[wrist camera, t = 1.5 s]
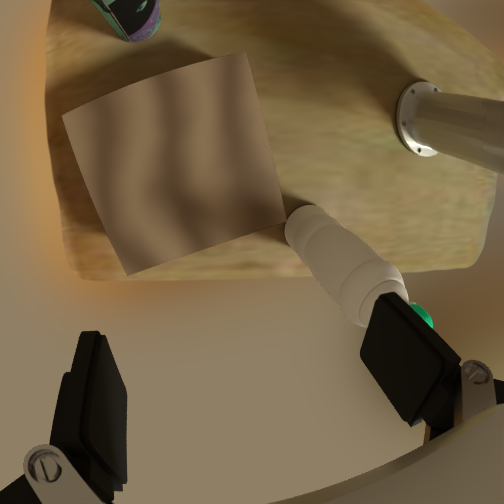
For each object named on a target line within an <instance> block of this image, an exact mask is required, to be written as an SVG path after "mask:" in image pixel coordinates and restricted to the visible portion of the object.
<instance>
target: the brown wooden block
mask: <svg viewBox="0 0 504 504" xmlns="http://www.w3.org/2000/svg"><path fill="white" fill-rule="evenodd" d="M62 118H63V122H64V125H65V128H66V131H67V134H68V137H69V140H70V143H71V146H72V149H73V152H74V154H75V157H76V160H77V163H78V165H79V168H80V171H81V173H82V176H83V179H84V181H85V184H86V186H87V189H88V191H89V194H90V196H91V198H92V201H93V203H94V206H95V208H96V210H97V213H98V215H99V217H100V220H101V222H102V224H103V226H104V229H105V231H106V233H107V235H108V237H109V239H110V242H111V244H112V246H113V248H114V250H115V252H116V254H117V256H118V258H119V260H120V262H121V264H122V266H123V268H124V270H125V272H126V274H127V276H128V275H131V274H134V273H137V272H140V271H142V270H145V269H148V268H151V267H154V266H157V265H160V264H162V263H165V262H168V261H171V260H174V259H177V258H180V257H183V256H185V255H188V254H191V253H194V252H197V251H200V250H203V249H206V248H209V247H212V246H215V245H218V244H221V243H223V242H226V241H229V240H232V239H235V238H238V237H241V236H244V235H247V234H250V233H253V232H256V231H259V230H262V229H265V228H268V227H271V226H274V225H277V224H280V223H283V222H286V221H287V219H286V214H285V210H284V205H283V200H282V196H281V191H280V187H279V182H278V178H277V174H276V169H275V165H274V161H273V156H272V152H271V148H270V144H269V140H268V135H267V131H266V127H265V123H264V119H263V115H262V111H261V107H260V103H259V99H258V95H257V92H256V88H255V84H254V80H253V76H252V73H251V69H250V65H249V61H248V58H247V54H246V52H241V53H236V54H232V55H227V56H223V57H218V58H214V59H210V60H206V61H203V62H199V63H195V64H191V65H188V66H184V67H181V68H178V69H174V70H171V71H168V72H165V73H162V74H159V75H156V76H153V77H150V78H147V79H144V80H142V81H139V82H136V83H134V84H131V85H128V86H126V87H123V88H121V89H118V90H116V91H113V92H111V93H109V94H106V95H104V96H102V97H99V98H97V99H95V100H93V101H90V102H88V103H86V104H84V105H82V106H80V107H78V108H76V109H74V110H72V111H70V112H68V113H66V114H64V115H62Z"/></svg>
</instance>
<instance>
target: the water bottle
mask: <svg viewBox="0 0 504 504" xmlns="http://www.w3.org/2000/svg"><path fill="white" fill-rule="evenodd" d="M284 233H285V238H286V241H287V243H288V244H289V245H290V247H291V248H292V249H293V250H294V251H295V252H296V253H297V254H298V256H299V257H300V259H301V260H302V261H303V262H304V264H305V265H307V266H308V267H309V268H310V270H311V272H312V273H313V275H314V276H315V277H316V279H317V280H318V282H319V283H320V284H321V286H322V287H323V288H324V289H325V291H326V292H327V293H328V294H329V295H330V296H331V297H332V299H333V300H334V301H335V302H336V303H337V304H338V305H339V306H340V308H341V311H342V312H343V314H344V315H345V317H346V318H347V319H348V320H349V321H351V322H352V323H355V324H357V325H359V326H363V327H366V328H367V327H368V324H369V321H370V317H371V314H372V310H373V307H374V303H375V300H376V299H378V296H379V295H380V294H384V293H388V292H396V293H397V294H398V295H399V296H400V297H401V298H402V299H403V300H404V301H405V302H406V303H407V304H408V305H409V306H410V307H411V308H412V309H413V310H414V311H416V312H417V313H418V314H419V315H420V316H421V317H422V318H423V319H424V320H425V321H426V322H427V323H428V325H429V326H430V327H431V328H432V329H433V322H432V319H431V317H430V315H429V314H428V313H427V312H426V311H425V310H424V309H423V308H422V307H420V306H419V305H417V304H416V303H414V302H409V301H408V294H407V291H406V289H405V286H404V282H403V279H402V276H401V274H400V272H399V271H398V269H397V268H396V267H395V266H394V265H393V264H391V263H390V262H388V261H385V260H384V259H383V258H382V257H381V256H380V255H379V254H378V253H377V252H376V251H375V250H374V249H373V248H372V247H371V246H369V245H368V244H367V243H366V242H365V241H363V240H362V239H361V238H359V237H358V236H357V235H355V234H354V233H352V232H351V231H349V230H348V229H346V228H345V227H344V226H343V225H342V224H341V223H340V222H339V221H338V220H336V219H335V218H333V217H332V216H331V215H330V214H329V213H327V212H326V211H325V210H324V209H322V208H320V207H318V206H315V205H306V206H302V207H300V208H298V209H296V210H295V211H294V212H293V213H292V214H291V215H290V216H289V218H288V219H287V222H286V224H285V230H284Z"/></svg>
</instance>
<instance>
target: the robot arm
mask: <svg viewBox="0 0 504 504" xmlns="http://www.w3.org/2000/svg"><path fill="white" fill-rule="evenodd" d="M396 120H397V127H398V132H399V135H400V137H401V140H402V141H403V143H404V145H405V146H406V147H407V148H408V149H409V150H410V151H411V152H412V153H414V154H416V155H419V156H422V157H430V156H434V155H436V154H437V153H439V152H441V153H444V154H447V155H450V156H453V157H456V158H459V159H462V160H465V161H468V162H471V163H473V164H476V165H479V166H482V167H484V168H487V169H490V170H492V171H495V172H497V173H500V174H503V175H504V101H498V100H492V99H487V98H481V97H474V96H467V95H460V94H451V93H442V91H441V90H440V89H439V88H438V87H437V86H435V85H434V84H432V83H429V82H415V83H412V84H410V85H409V86H408V87H407V88H406V89H405V90H404V91H403V93H402V94H401V96H400V99H399V102H398V106H397V114H396ZM360 357H361V359H362V361H363V363H364V364H365V365H366V367H367V368H368V370H369V371H370V373H371V374H372V375H373V377H374V378H375V380H376V381H377V383H378V384H379V386H380V387H381V389H382V390H383V392H384V393H385V394H386V396H387V397H388V399H389V400H390V402H391V403H392V405H393V406H394V408H395V409H396V411H397V412H398V413H399V415H400V417H401V418H402V419H403V421H406V422H408V424H409V425H410V427H412V426H414V425H416V424H418V423H420V422H422V420H424V421H425V422H426V426H425V434H424V442H423V446H420V447H419V448H417V449H415V450H413V451H411V452H409V453H407V454H405V455H403V456H401V457H399V458H397V459H395V460H393V461H391V462H389V463H386V464H384V465H382V466H380V467H378V468H375V469H373V470H371V471H368V472H366V473H363V474H361V475H359V476H356V477H353V478H351V479H348V480H346V481H343V482H340V483H338V484H335V485H332V486H329V487H326V488H323V489H320V490H317V491H313V492H310V493H307V494H303V495H300V496H296V497H293V498H289V499H285V500H281V501H277V502H273V503H269V504H504V381H501V380H496V379H493V375H492V372H491V370H490V369H489V368H488V367H487V366H486V365H485V364H484V363H482V362H480V361H477V360H467V361H466V362H464V363H463V365H462V366H460V365H459V363H460V361H461V358H460V357H459V356H458V355H457V354H456V353H455V351H454V350H453V349H452V348H451V347H450V346H449V345H448V344H447V343H446V342H445V341H444V340H443V339H442V338H441V337H440V336H439V335H438V334H437V333H436V332H435V331H434V330H433V329H432V328H431V327H430V326H429V325H428V323H427V322H426V321H425V320H424V319H423V318H422V317H421V316H420V315H419V314H418V313H417V312H416V311H414V310H413V309H412V308H411V307H410V306H409V305H408V304H407V303H406V302H405V301H404V300H403V299H402V298H401V297H400V296H399V295H398V294H397V293H396V292H388V293H384V294H380V295H379V296H378V299H376V300H375V303H374V307H373V310H372V314H371V317H370V321H369V324H368V327H367V331H366V334H365V337H364V340H363V343H362V347H361V350H360ZM126 428H127V391H126V388H125V385H124V383H123V381H122V378H121V375H120V373H119V370H118V368H117V365H116V363H115V360H114V357H113V355H112V352H111V349H110V346H109V344H108V341H107V338H106V336H105V335H101V334H100V332H99V331H83V332H81V334H80V337H79V340H78V344H77V348H76V352H75V356H74V359H73V363H72V368H71V372H66V373H65V374H64V375H63V378H62V382H61V386H60V391H59V395H58V400H57V404H56V409H55V414H54V420H53V425H52V430H51V436H50V443H49V445H47V444H44V445H38V446H36V447H34V448H32V449H31V450H30V451H29V452H28V453H27V455H26V457H25V459H24V463H23V467H24V474H23V475H22V476H21V477H19V478H18V479H16V480H15V481H14V482H12V483H11V484H10V485H8V486H7V487H6V488H4V489H3V490H1V491H0V504H114V503H113V502H112V501H113V500H114V491H123V486H122V484H126V483H127V452H126V451H127V450H126V449H127V448H126V446H127V445H126V431H127V429H126Z"/></svg>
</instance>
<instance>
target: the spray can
mask: <svg viewBox="0 0 504 504" xmlns="http://www.w3.org/2000/svg"><path fill="white" fill-rule="evenodd" d="M91 2H92V3H93V4H94V5H95V7H96V8H97V9H98V10H99V12H100V13H101V14H102V15H103V17H104V18H105V19H106V20H107V22H108V23H109V24H110V25H111V27H112V28H113V29H114V31H115V32H116V33H117V34H118V36H119V37H120V38H121V39H123V40H125V41H127V42H131V43H138V42H142V41H145V40H147V39H149V38H151V37H152V36H153V35H154V34H155V33H156V32H157V30H158V29H159V26H160V22H161V16H160V8H159V1H158V0H91Z"/></svg>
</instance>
